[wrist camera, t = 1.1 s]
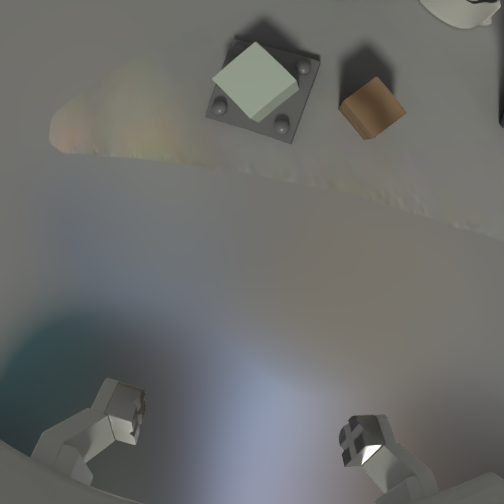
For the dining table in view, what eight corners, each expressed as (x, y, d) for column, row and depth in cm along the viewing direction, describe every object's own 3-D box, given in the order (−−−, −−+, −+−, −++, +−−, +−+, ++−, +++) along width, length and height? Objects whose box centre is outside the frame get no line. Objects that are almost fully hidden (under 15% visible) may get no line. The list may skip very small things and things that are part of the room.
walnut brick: (367, 88, 37) (377, 76, 30) (391, 118, 38) (406, 112, 31) (338, 109, 39) (343, 100, 32) (363, 140, 40) (373, 138, 33)
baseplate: (235, 41, 38) (221, 25, 32) (320, 64, 37) (320, 49, 30) (208, 117, 44) (189, 113, 37) (291, 144, 43) (286, 142, 36)
